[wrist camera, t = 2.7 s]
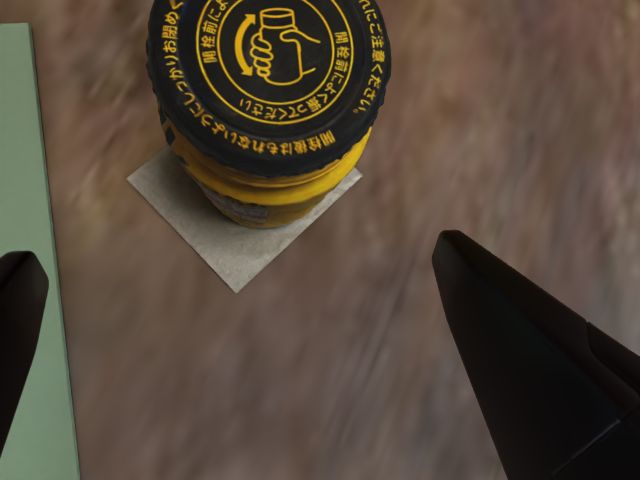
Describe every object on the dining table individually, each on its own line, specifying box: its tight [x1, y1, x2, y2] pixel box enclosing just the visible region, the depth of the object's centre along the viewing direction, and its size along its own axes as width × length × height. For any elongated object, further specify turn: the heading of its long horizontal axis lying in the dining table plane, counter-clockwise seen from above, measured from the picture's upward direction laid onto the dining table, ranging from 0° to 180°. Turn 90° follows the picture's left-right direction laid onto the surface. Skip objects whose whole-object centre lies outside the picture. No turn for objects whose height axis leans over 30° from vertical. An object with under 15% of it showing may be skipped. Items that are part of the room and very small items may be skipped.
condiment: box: [127, 0, 391, 293], centre depth 14 cm, size 7×8×12 cm
